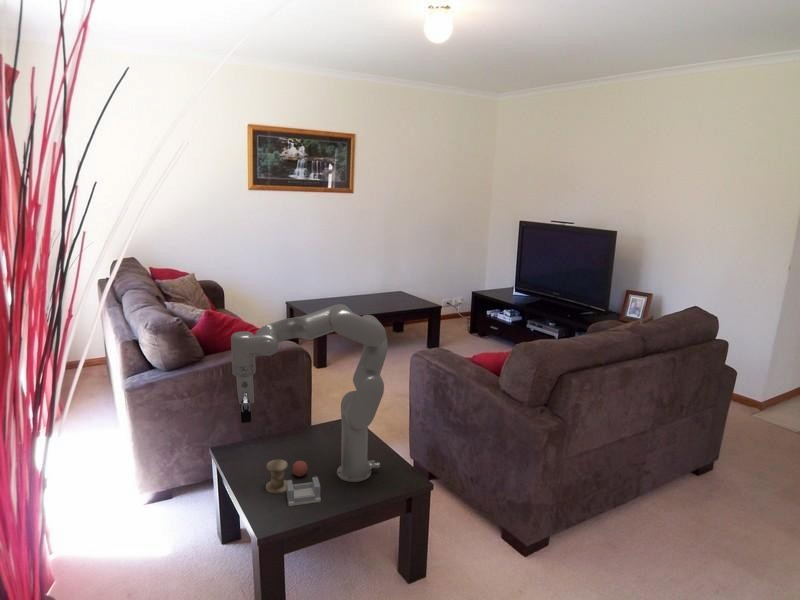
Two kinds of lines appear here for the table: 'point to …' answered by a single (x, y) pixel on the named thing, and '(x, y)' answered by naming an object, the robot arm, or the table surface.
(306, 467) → the bead
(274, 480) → the bobbin
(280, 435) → the table surface
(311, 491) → the grey u-shaped holder
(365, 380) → the robot arm
